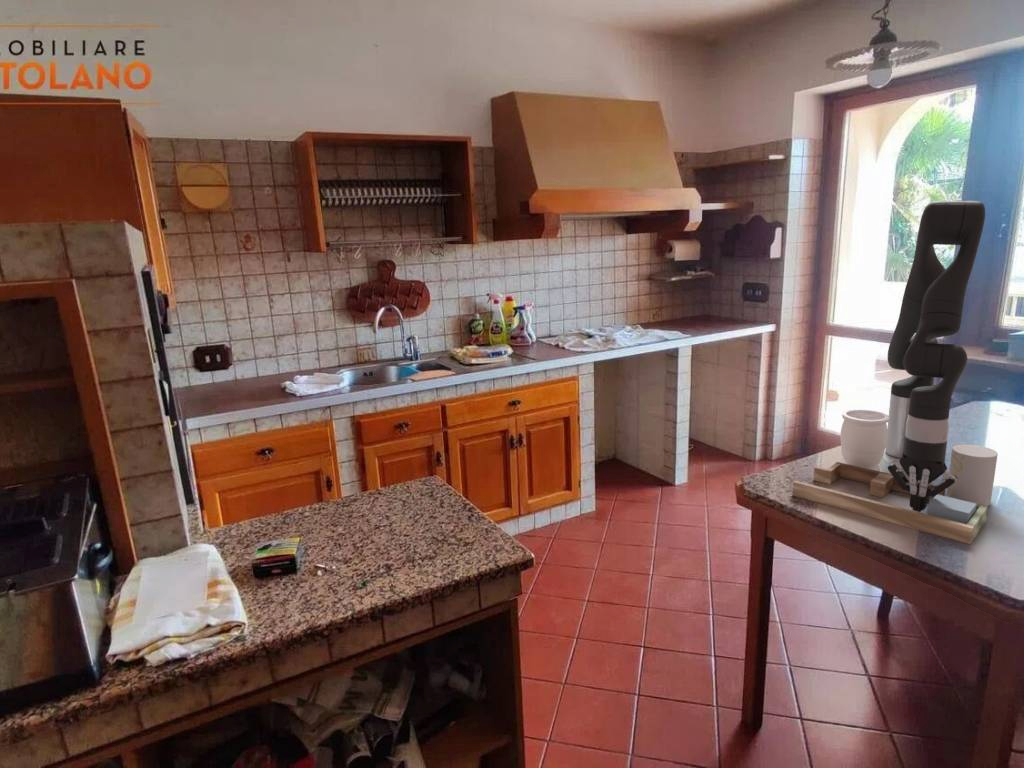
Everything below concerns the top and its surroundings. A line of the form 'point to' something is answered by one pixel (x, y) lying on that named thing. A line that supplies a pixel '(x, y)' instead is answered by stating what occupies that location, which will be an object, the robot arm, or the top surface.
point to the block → (951, 509)
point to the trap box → (881, 487)
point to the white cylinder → (972, 473)
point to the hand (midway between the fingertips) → (917, 509)
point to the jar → (864, 438)
